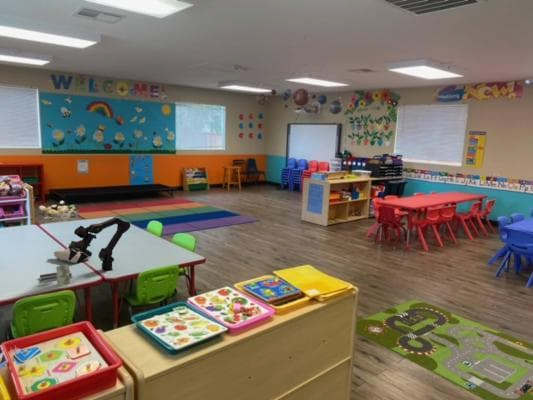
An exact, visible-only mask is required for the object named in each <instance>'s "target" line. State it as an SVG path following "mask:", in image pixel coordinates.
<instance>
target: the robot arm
mask: <svg viewBox="0 0 533 400" xmlns="http://www.w3.org/2000/svg"><path fill="white" fill-rule="evenodd" d="M114 225H117V226H116V231H115V233H114V235H112V238H111V239H110V241H109V242H108V244H107V245H106V247H102V248H101V249H100V250H99V251H98V259H99V260H100V262H101V270H102V271H103V272H108V271H113V263H114V262H115V258H114V257H113V252H114V251H113V250H114V249H115V247H116V246H117V244H118V242H119V241H120V239H121V238H122V236H123V235H124V234H125V233H126V232H127V231H128V230H129V229H130V228H131V223H130V222H129V221H125V220H123V219H121V218H119V217H116V216H114V217H112V218H110V219H108V220H105V221H102V222H100V223H92V224H90V225H89V226H87V227H84V226H83V225H80V226H78V227H77V228H76V229H74V235H76V236H77V237H78V238H80V239H79V240H77V241H75V240H71V241H70V243H71V245H69V244H68V246H67V248H69V250H70V255H69V259H68V260H69V261H70V260H71V259H72V258H73V257H74V256H75V255H76V254H77V252H78V251H79V252H80V257H79V259H78V261H77V263H76V264H77V265H78V264H80V263H81V262H83V261H85V260H84V259H86V258H88V257H89V256H90V258H91V257H92V255H93V252H91V251H90V250H89V249H88V247H90V246H91V243H92V241H93V240H94V239H95V240H97V239H98V238H97V234H99V233H101V232H102V231H103V230H105V229H108V228H110V227H112V226H114ZM81 250H82V251H81ZM86 260H87V259H86Z"/></svg>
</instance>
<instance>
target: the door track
mask: <svg viewBox="0 0 533 400" xmlns="http://www.w3.org/2000/svg"><path fill="white" fill-rule="evenodd" d="M69 277H70V279H72V278H73V275H72V272H71V271H70V269H69ZM39 279H40V281H41V283H42V284H44V283H49V282H50V283H51V282H54V281H57V271H56V272H52V273H51V272H50V273H43V274H40V275H39Z"/></svg>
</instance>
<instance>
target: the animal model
mask: <svg viewBox="0 0 533 400" xmlns="http://www.w3.org/2000/svg"><path fill="white" fill-rule="evenodd" d="M68 243H69V242H68ZM69 245H71V242H70V243H69V244H68V246H69ZM81 251H82V250H81ZM53 255H54V257H55V258H56V260H60V261H65V262H68V263H72V264H77V261H78V259H79V257H80V252H79V251H78V252H77V254H76V255H75V256H74V257H73V258H72V259H71V260H70V261H69V260H68V259H69V255H70V250H69V248H68V247H67V248H66V249H64V250H63V251H62V250H56V251H54V252H53ZM89 259H91V257H90V256H89V257H88V258H86V259H84V260H83V261H85V260H89Z"/></svg>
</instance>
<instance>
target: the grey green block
mask: <svg viewBox="0 0 533 400" xmlns="http://www.w3.org/2000/svg"><path fill="white" fill-rule="evenodd" d="M55 268H56V272H57V280H56V281H57V282H56V286H58V287H64V286H67V285H69V284H71V281H70V279H71V278H70V277H69V270H70V265H68V264H61V265H57V266H56V267H55Z"/></svg>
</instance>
